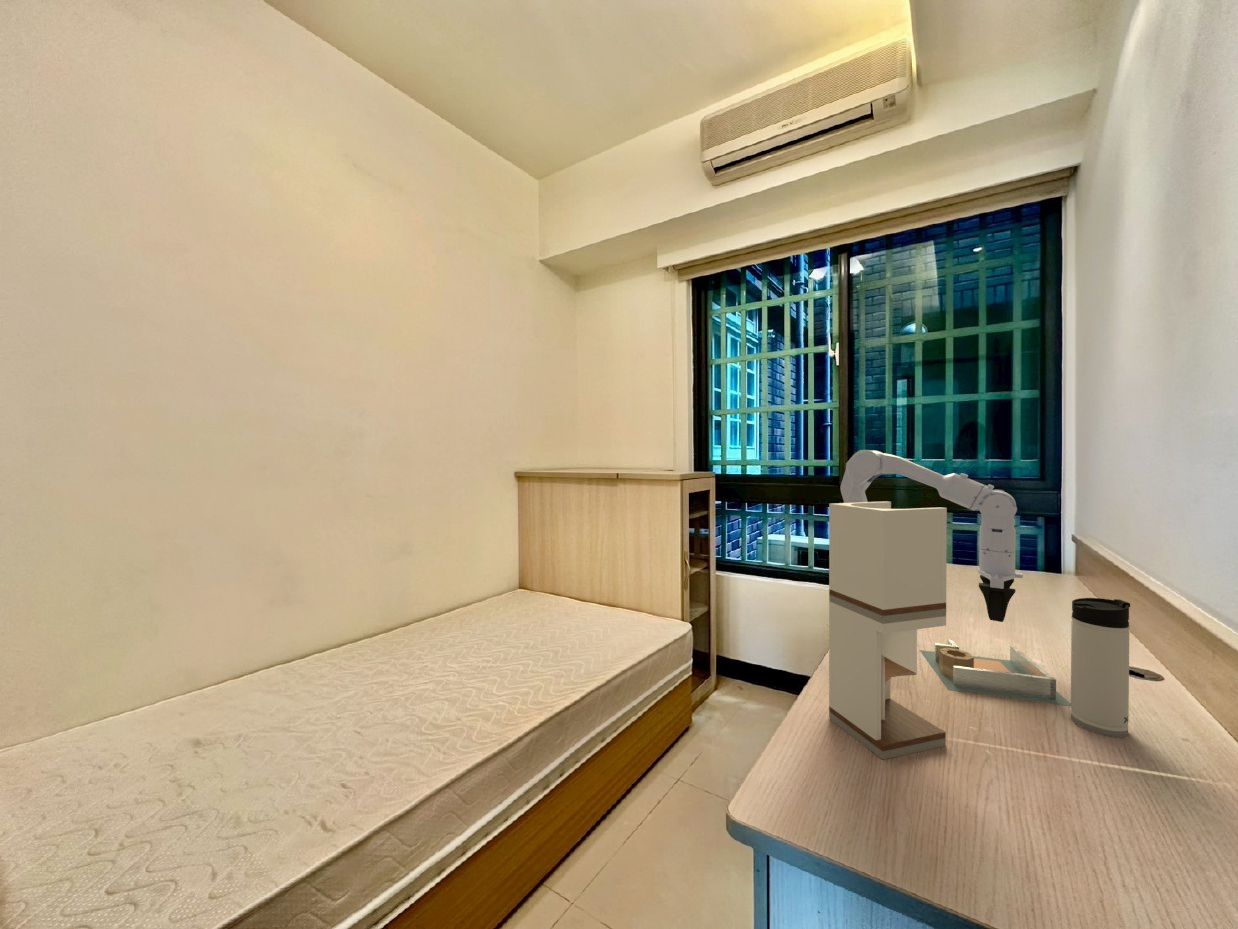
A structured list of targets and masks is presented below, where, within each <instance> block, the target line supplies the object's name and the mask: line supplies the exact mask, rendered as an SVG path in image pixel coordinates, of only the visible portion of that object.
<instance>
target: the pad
mask: <svg viewBox="0 0 1238 929" xmlns="http://www.w3.org/2000/svg"><path fill="white" fill-rule="evenodd" d="M974 668H977V669H986V670H994V671H1002V672H1010V671H1009V670H1008V669H1007V668H1006V667H1005V666H1004V665H1003V664H1002V663H1001V662H999V661H992V660H984V659H975V658H974ZM1010 673H1011V672H1010Z"/></svg>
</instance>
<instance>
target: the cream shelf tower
mask: <svg viewBox="0 0 1238 929" xmlns="http://www.w3.org/2000/svg"><path fill="white" fill-rule="evenodd" d="M828 508H829V509H828V511H829V513H828V514H829V515H828V518H829V520H828V522H829V523H828V524H829V527H828V528H829V529H828V531H829V532H828V533H829V534H828V538H829V539H828V542H829V543H828V548H829V549H828V551H829V555H828V559H829V561H828V563H829V564H828V566H829V568H828V570H829V571H828V572H829V573H828V576H829V577H828V578H829V579H828V580H829V581H828V585H829V586H828V588H829V589H828V593H829V594H828V595H829V598H828V603H829V604H828V606H829V607H828V608H829V609H828V615H829V616H828V621H829V622H828V623H829V625H828V628H829V630H828V632H829V634H828V651H829V652H828V657H829V658H828V660H829V661H828V665H829V666H828V668H829V669H828V672H829V673H828V676H829V677H828V691H829V692H828V706H829V707H828V719H829V718H830V719H831V720H830V719H829V720H830V721H831V722H833V721H834V722H835V723H834V722H833V723H834V724H836V726H838V727H839V726H840V729H842V730H843V729H844V730H843V731H844V732H846V731H847V732H848V733H847V732H846V733H847V734H849V735H850V736H851V737H852V736H853V738H854V739H855V740H857V742H859V741H860V742H861V743H862V744H861V743H860V742H859V743H860V744H861V745H863V746H864V747H865V746H866V749H867V750H870V751H871V752H872V753H873V752H874V753H875V754H874V753H873V754H874V755H876V756H877V757H879V758H880V760H883V759H884V760H888V758H889V759H893V758H897V757H901V756H905V755H906V756H907V755H910V754H915V753H919V752H924V751H928V750H929V751H930V750H933V749H937V748H943V747H946V744H947V743H946V740H947V739H946V738H947V734H946V733H947V732H946V731H944V730H943V729H942V728H940V727H938V726H937V725H935V724H933V723H932V722H930V721H928V720H927V719H925V718H923V717H922V716H920V715H918V714H917V713H915V712H913V711H912V710H910V709H908V708H907V707H905V706H904V705H902V704H900V703H898V702H897V701H896V700H894V699H892V698H891V679H892V678H895V677H905V676H916V675H918V670H917V669H918V663H917V662H918V644H917V643H918V630H921V629H923V630H924V629H931V628H937V627H945V626H946V627H947V547H948V546H947V545H948V543H947V538H948V537H947V534H948V533H947V531H948V529H947V528H948V527H947V525H948V524H947V523H948V522H947V519H948V517H947V515H948V513H947V511H948V510H947V509H948V507H943V506H942V507H920V508H919V507H918V508H892V501H887V500H886V501H868V502H859V503H844V502H839V503H835V502H834V503H829V507H828Z"/></svg>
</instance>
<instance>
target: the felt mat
mask: <svg viewBox="0 0 1238 929" xmlns="http://www.w3.org/2000/svg"><path fill="white" fill-rule="evenodd" d="M919 651H920V653H921V654H922V655H923V657H924V658H925V660H926V661H927V663H928V664H929V666H930V667H931V668H932V669H933V671H934V672H935V674H936V676H938V678H939V679H940V681H941V682H942V683H943V685H944V686H945V688H946V689H947V690H948V691H955V692H961V693H967V694H968V693H969V694H975V695H976V694H977V695H982V696H990V697H999V698H1006V699H1015V700H1019V701H1020V700H1021V701H1028V702H1033V703H1034V702H1037V703H1043V704H1049V705H1058V706H1064V707H1071V701H1070V702H1069V700H1067V699H1066V698H1065V697H1064V696H1063V695H1061V693H1059V692H1058V691H1057V690H1056V700H1053V699H1045V698H1038V697H1030V696H1023V695H1015V694H1008V693H1000V692H993V691H985V690H978V689H970V688H963V687H955V686H954V685H953V678H951V677H948V676H946V675H943V674H942V673H941V671H940V670H939V662H936V661H935V651H931V650H923V649H920V650H919ZM972 656H973V657H974V658H975V659H984V660H992V661H999V662H1001V663H1002V664H1003V665H1004V666H1005V667H1006V668H1007V669H1008V670H1009V671H1010V672H1011V673H1019V674H1022V673H1021V672H1019V671H1018V670H1017V669H1016V668H1015V667H1014V666H1013V665H1012V664H1010V659H1009V660H1008V659H1001V658H993V657H985V656H982V657H981V656H975V655H972Z"/></svg>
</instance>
